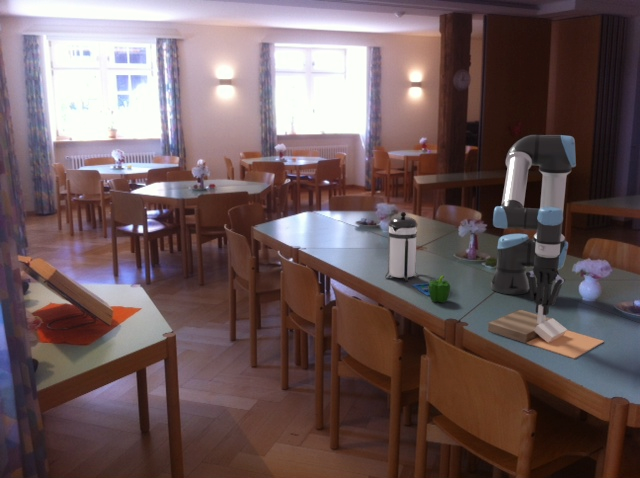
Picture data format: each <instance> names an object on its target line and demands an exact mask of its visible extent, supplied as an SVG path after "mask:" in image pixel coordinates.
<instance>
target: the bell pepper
mask: <svg viewBox="0 0 640 478" xmlns="http://www.w3.org/2000/svg"><path fill="white" fill-rule="evenodd" d="M444 278H445V276H444V275H441V276H440V277H439V279H437V280H430V282H428V283H429V293H430V296H429V297H430V300H431V301H432V302H435V303H446V302H447V301H448V300H449V297H450V292H451V285H450V283H449V282H448V280H443V279H444Z"/></svg>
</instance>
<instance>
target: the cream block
mask: <svg viewBox="0 0 640 478" xmlns="http://www.w3.org/2000/svg"><path fill="white" fill-rule="evenodd" d="M554 319H555V318H553V317H551V319H550V320H548V321H545V322H543V323H541V324H539V325H537V326H536V328H535V330H534V332H536V333H537V334H538V335H539V336H540V337H542V338H543V339H544V340H545V341H547V342H548V343H549V342H551V341H553V340H555V339H557V338H559V337H561V336H563V335H564V334H565V333H566V331H567V330H568V329H567V328H566V327H565V326H563V324H561V323H560V322H558V320H557V319H555V320H554ZM556 320H557V321H556Z"/></svg>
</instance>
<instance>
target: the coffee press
mask: <svg viewBox="0 0 640 478" xmlns="http://www.w3.org/2000/svg"><path fill="white" fill-rule="evenodd" d="M406 215H407V213H406V212H405V211H402V212H401V213H400V216H396V217H392V218H391V219H390V220H389V222H388V223H387V225H388V234H387V235H388V239H387V240H388V241H387V244H388V246H387V247H388V248H387V250H388V251H387V273H386V274H385V276H384V278H385V279H387V280H388V279H390V278H391V277H394V278H398V279H399V278H400V279H403V283H408V282H409V279H408V278H411V277H415V278H418V277H419V275H418V273H417V269H416V267H417V265H416V264H417V240H418V239H417V237H418V231H417V229H418V223H417V222H418V221H416V219H415V218H414V217H410V216H406ZM415 274H416V275H415ZM387 276H388V277H387Z"/></svg>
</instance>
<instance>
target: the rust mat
mask: <svg viewBox="0 0 640 478" xmlns="http://www.w3.org/2000/svg"><path fill="white" fill-rule="evenodd" d="M604 342H605V341H604V340H602V339H598V338H594V337H592V336H588V335H584V334H581V333H578V332H574V331H572V330H571V331H570V330H568V329H567V331H566V333H565V334H564V335H563V336H561V337H559V338H557V339H555V340H553V341H551V342H549V343H548V342H547V341H545V340H544V339H543V338H542V337H540V336H539V337H537V338H535V339H533V340H531V341H529V342H527V343H526V344H527V345H530V346H533V347H534V348H535V347H536V348H538V349H542V350H544V351H548V352H551V353H554V354H557V355H561V356H563V357H567V358H569V359H572V360H575V359H577V358H579V357H581V356H583V355H584V354H586V353H588V352H589V351H591V350H594V349H595V348H596V347H598V346H600V345H602V344H603V343H604Z"/></svg>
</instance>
